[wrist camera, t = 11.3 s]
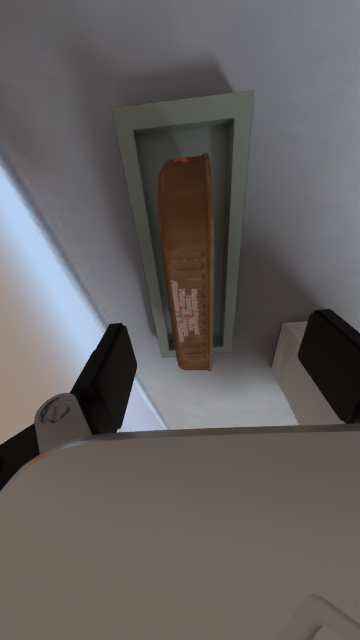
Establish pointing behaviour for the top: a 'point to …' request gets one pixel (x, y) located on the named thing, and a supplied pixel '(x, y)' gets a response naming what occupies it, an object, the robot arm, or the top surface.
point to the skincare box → (299, 379)
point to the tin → (188, 256)
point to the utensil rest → (227, 187)
